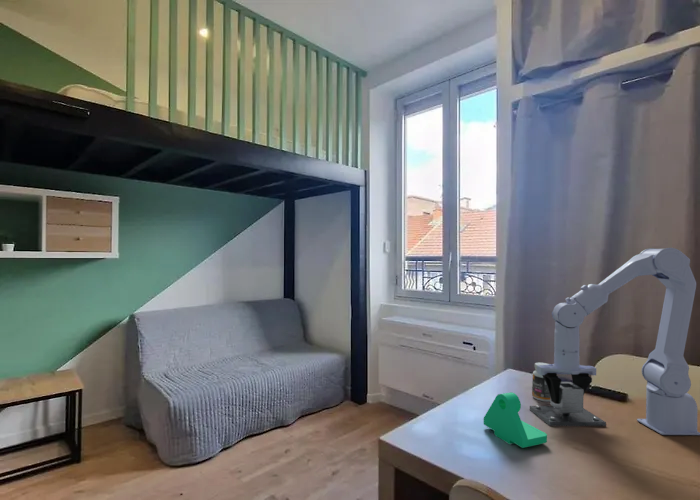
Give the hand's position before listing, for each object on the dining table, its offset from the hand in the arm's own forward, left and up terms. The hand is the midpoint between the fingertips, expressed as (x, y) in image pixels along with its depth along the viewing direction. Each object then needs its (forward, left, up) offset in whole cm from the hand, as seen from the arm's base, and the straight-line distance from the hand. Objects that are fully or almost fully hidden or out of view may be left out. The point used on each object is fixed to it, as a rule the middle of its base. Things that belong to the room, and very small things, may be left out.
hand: (566, 402), depth 100 cm
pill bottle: (-1, -13, -4) cm, 14 cm away
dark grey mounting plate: (0, 0, -4) cm, 4 cm away
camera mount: (+18, +10, -4) cm, 21 cm away
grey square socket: (0, 0, -2) cm, 2 cm away
